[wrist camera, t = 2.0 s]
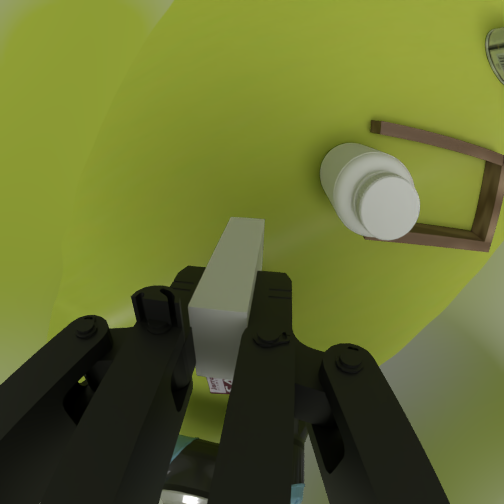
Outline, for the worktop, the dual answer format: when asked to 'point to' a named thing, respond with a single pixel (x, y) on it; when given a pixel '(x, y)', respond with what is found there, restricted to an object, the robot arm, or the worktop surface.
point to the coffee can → (496, 51)
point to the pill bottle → (370, 191)
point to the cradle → (491, 196)
